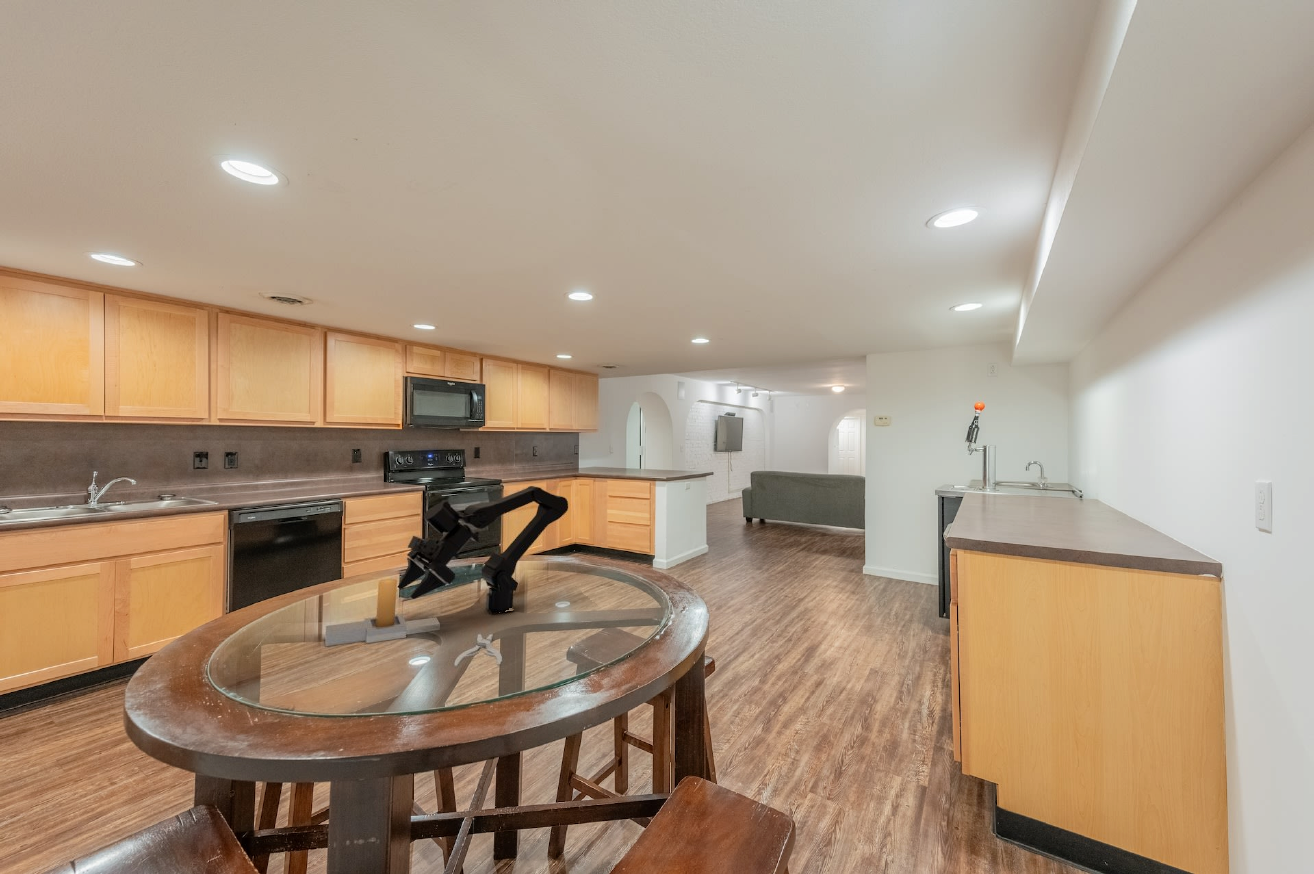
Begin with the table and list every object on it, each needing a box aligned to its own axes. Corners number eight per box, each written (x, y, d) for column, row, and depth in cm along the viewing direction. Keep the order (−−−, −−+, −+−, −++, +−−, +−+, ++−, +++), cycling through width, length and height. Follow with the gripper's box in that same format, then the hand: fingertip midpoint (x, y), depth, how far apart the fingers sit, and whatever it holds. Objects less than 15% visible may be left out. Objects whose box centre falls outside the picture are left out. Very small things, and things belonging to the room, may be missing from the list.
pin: (396, 631, 128) (399, 579, 128) (389, 637, 124) (393, 583, 124) (379, 630, 127) (382, 578, 127) (372, 637, 123) (375, 583, 123)
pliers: (453, 661, 111) (464, 634, 126) (453, 668, 111) (463, 640, 126) (501, 660, 113) (506, 633, 128) (500, 667, 113) (505, 639, 128)
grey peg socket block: (434, 621, 136) (435, 609, 136) (441, 632, 129) (441, 620, 129) (325, 635, 122) (325, 623, 122) (325, 649, 115) (326, 636, 115)
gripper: (416, 518, 139) (369, 565, 131) (445, 531, 126) (394, 583, 118) (444, 544, 144) (401, 590, 137) (474, 558, 131) (427, 610, 123)
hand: (405, 593), depth 129 cm, fingers open, 9 cm apart
